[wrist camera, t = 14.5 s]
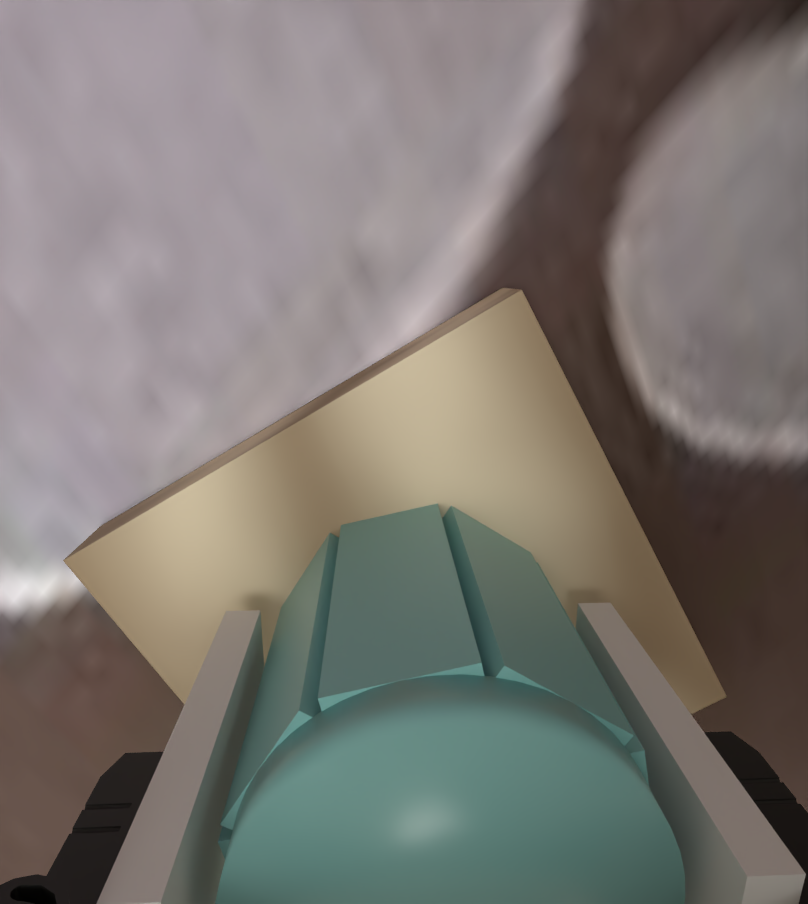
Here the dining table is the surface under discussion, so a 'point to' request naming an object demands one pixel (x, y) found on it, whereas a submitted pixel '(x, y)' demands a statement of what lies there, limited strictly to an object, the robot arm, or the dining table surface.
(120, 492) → the dining table surface
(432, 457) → the bolt post
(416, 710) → the cap
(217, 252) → the dining table surface
